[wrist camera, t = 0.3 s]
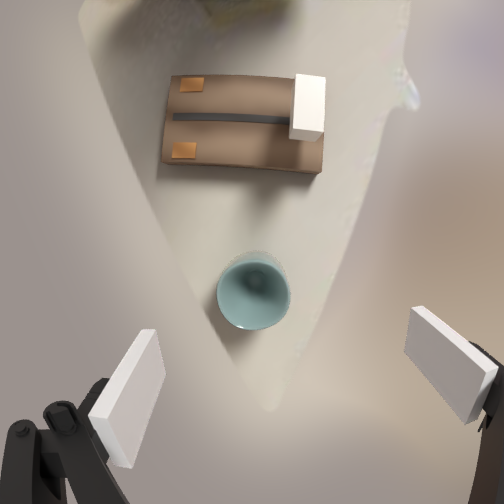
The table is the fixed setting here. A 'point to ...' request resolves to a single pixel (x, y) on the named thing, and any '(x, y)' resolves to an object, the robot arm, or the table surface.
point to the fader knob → (307, 108)
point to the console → (235, 124)
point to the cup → (253, 291)
